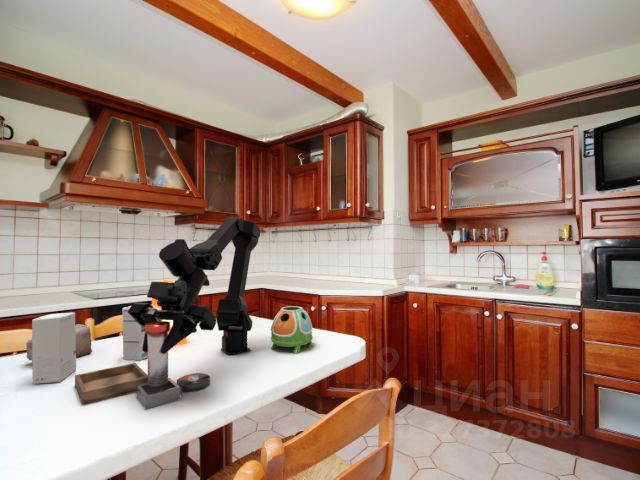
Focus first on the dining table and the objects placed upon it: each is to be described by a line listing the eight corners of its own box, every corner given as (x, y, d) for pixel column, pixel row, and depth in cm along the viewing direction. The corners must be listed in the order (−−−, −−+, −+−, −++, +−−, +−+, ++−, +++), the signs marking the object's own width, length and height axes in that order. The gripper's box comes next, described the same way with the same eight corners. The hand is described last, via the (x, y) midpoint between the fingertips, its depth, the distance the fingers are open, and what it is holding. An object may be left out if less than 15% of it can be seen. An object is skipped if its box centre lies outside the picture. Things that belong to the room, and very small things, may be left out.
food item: (41, 369, 90) (41, 330, 90) (23, 365, 93) (23, 328, 93) (94, 353, 102) (94, 319, 102) (76, 350, 105) (76, 317, 106)
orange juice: (175, 338, 119) (175, 278, 119) (186, 343, 112) (186, 280, 113) (151, 342, 113) (151, 280, 113) (161, 348, 107) (161, 282, 107)
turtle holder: (323, 339, 116) (323, 303, 116) (301, 355, 99) (301, 313, 99) (289, 336, 120) (289, 301, 121) (262, 351, 104) (262, 310, 104)
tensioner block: (202, 376, 84) (202, 366, 84) (218, 388, 77) (218, 376, 77) (133, 394, 74) (133, 382, 74) (145, 409, 67) (145, 396, 67)
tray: (135, 373, 87) (135, 362, 87) (149, 388, 77) (149, 376, 77) (74, 386, 79) (75, 375, 79) (82, 405, 69) (82, 392, 69)
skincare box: (60, 382, 81) (60, 317, 81) (30, 385, 79) (30, 319, 80) (77, 369, 89) (77, 311, 89) (49, 372, 88) (49, 312, 88)
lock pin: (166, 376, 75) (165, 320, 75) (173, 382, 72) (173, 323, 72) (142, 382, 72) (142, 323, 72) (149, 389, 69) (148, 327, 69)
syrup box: (140, 361, 95) (140, 307, 96) (122, 359, 97) (122, 306, 97) (154, 354, 101) (154, 303, 101) (136, 353, 102) (136, 303, 102)
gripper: (133, 266, 78) (90, 328, 67) (208, 267, 74) (174, 333, 63) (158, 296, 86) (123, 356, 75) (227, 299, 81) (200, 363, 70)
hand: (153, 352), depth 71 cm, fingers closed on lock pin, 4 cm apart
